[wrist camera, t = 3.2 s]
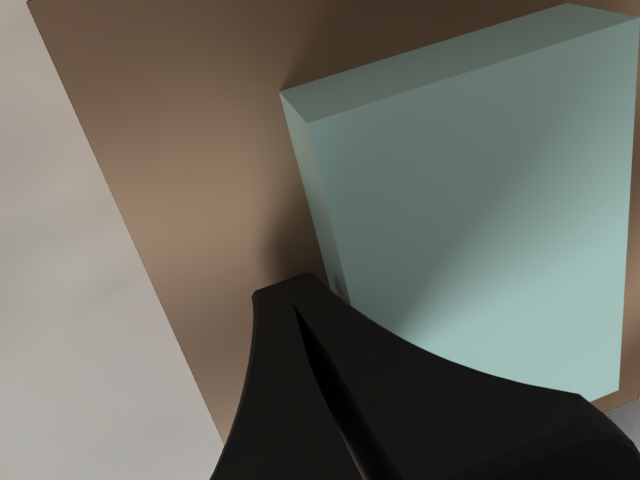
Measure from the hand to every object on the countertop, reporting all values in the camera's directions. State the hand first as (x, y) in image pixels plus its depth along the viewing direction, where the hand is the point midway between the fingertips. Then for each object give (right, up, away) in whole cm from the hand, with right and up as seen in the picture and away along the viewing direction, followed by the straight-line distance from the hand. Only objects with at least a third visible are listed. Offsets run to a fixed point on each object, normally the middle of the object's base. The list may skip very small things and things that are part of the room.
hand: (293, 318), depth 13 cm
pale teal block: (+4, +2, +1) cm, 4 cm away
